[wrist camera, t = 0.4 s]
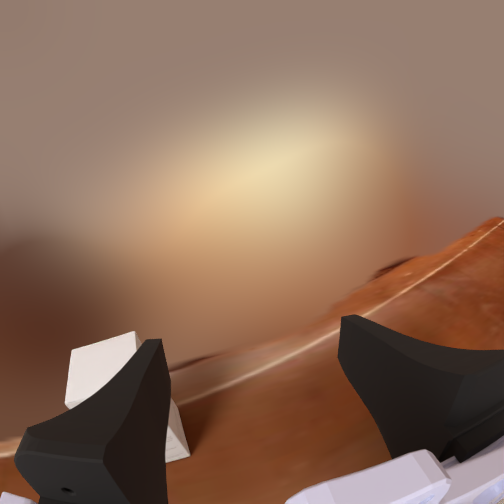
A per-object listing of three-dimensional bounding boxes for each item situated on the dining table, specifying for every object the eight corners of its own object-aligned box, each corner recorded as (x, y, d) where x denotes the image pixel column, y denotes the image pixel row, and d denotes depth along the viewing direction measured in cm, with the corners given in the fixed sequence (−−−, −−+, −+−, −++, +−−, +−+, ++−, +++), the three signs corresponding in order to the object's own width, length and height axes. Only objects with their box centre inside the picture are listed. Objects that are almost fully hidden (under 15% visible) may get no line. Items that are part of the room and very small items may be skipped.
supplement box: (179, 407, 34) (137, 327, 28) (192, 457, 27) (142, 384, 22) (123, 421, 32) (70, 347, 26) (128, 472, 26) (62, 403, 20)
